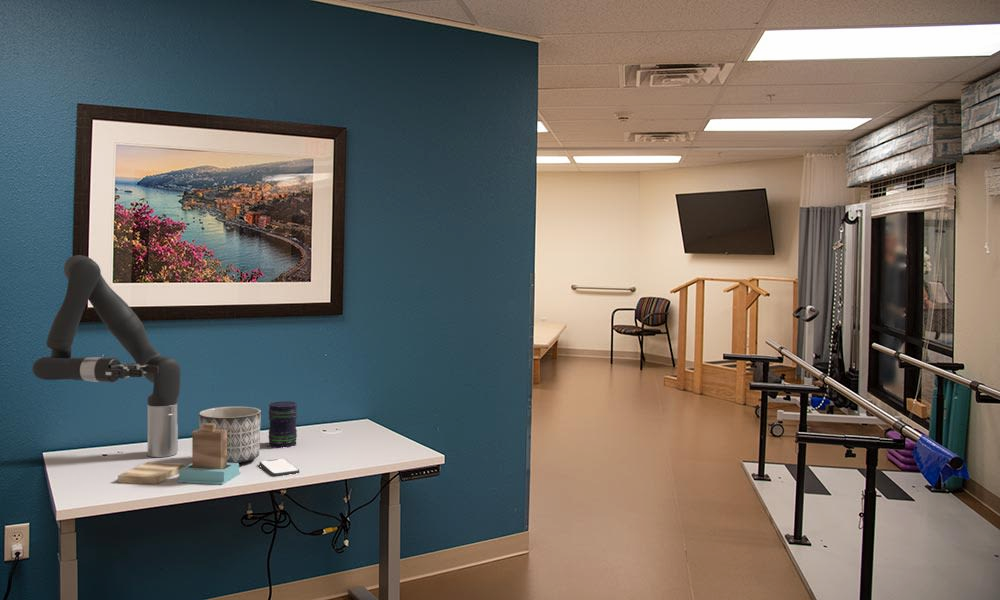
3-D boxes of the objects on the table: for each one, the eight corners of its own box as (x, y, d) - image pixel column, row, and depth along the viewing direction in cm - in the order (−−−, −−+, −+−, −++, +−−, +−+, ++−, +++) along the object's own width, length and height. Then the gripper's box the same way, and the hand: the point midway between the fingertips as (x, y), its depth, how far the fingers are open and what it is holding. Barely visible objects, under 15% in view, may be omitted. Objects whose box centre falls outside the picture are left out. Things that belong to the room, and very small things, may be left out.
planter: (187, 461, 253) (187, 412, 252) (238, 451, 268) (238, 404, 267) (220, 472, 241) (221, 420, 240) (272, 460, 256) (272, 411, 256)
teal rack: (197, 471, 241) (197, 460, 241) (240, 473, 240) (240, 462, 240) (177, 482, 229) (177, 470, 229) (222, 484, 228) (222, 472, 228)
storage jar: (280, 440, 285) (280, 400, 284) (302, 443, 281) (302, 402, 281) (262, 446, 276) (262, 404, 275) (285, 449, 272) (285, 407, 272)
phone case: (300, 475, 242) (284, 462, 255) (300, 470, 242) (284, 458, 255) (272, 479, 237) (257, 466, 250) (272, 474, 237) (257, 461, 250)
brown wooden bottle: (198, 473, 237) (198, 422, 236) (226, 475, 236) (227, 423, 235) (192, 477, 233) (192, 424, 232) (220, 478, 232) (220, 426, 231)
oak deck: (148, 468, 244) (148, 461, 244) (184, 469, 243) (184, 463, 243) (117, 482, 228) (117, 475, 228) (156, 484, 227) (156, 477, 227)
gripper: (85, 360, 229) (137, 362, 228) (114, 354, 244) (163, 356, 242) (85, 385, 230) (137, 387, 228) (114, 378, 244) (163, 380, 242)
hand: (150, 371), depth 235 cm, fingers open, 8 cm apart
